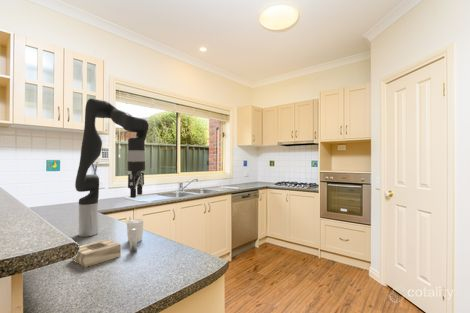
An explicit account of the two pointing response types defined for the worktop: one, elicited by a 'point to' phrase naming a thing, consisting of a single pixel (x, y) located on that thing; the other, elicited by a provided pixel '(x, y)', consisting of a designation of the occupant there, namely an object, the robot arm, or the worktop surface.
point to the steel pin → (133, 240)
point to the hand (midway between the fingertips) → (136, 196)
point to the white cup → (138, 225)
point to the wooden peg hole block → (97, 252)
